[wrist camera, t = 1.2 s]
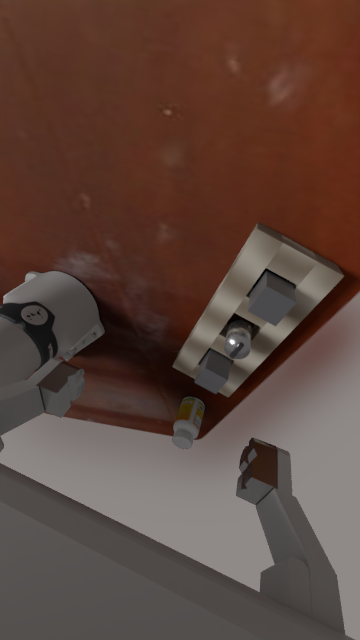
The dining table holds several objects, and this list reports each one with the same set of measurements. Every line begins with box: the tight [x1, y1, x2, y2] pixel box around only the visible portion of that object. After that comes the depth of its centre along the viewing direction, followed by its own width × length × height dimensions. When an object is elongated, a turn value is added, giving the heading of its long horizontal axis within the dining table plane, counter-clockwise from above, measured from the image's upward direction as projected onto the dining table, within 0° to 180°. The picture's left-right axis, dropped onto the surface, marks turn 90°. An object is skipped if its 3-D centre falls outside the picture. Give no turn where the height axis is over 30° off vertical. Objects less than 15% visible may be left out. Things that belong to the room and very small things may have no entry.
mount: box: [172, 222, 344, 397], centre depth 40 cm, size 28×12×4 cm, turn 156°
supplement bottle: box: [172, 397, 205, 449], centre depth 53 cm, size 5×5×10 cm
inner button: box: [194, 348, 232, 394], centre depth 42 cm, size 4×4×5 cm
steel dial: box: [224, 320, 252, 359], centre depth 37 cm, size 4×4×6 cm
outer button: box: [248, 271, 297, 326], centre depth 32 cm, size 4×4×5 cm
